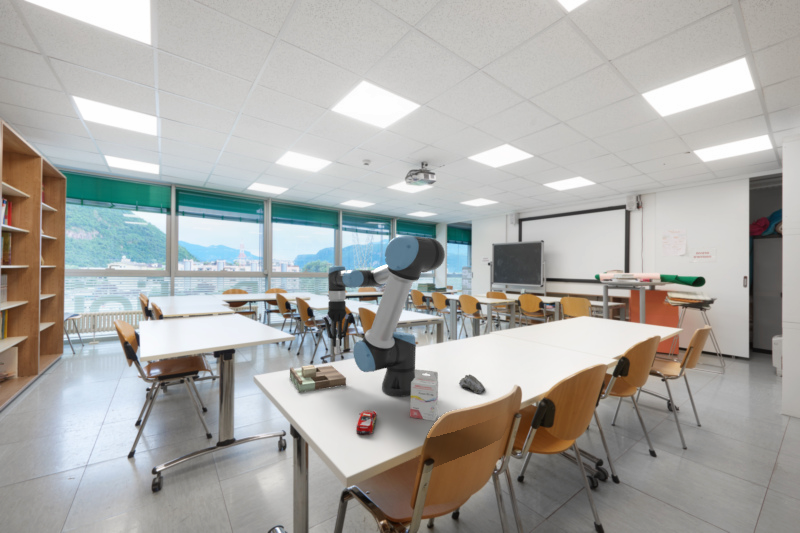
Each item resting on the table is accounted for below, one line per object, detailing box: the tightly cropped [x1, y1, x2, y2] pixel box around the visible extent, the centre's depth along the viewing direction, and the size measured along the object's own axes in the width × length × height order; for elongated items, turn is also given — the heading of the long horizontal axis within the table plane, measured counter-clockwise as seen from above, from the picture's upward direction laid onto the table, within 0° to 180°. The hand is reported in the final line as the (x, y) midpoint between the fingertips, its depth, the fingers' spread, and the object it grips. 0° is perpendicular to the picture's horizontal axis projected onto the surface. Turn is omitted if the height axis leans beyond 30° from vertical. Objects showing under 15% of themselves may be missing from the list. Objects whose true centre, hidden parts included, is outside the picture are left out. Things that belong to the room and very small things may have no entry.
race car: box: [356, 409, 378, 435], centre depth 102 cm, size 13×5×4 cm, turn 176°
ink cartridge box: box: [409, 368, 439, 422], centre depth 109 cm, size 9×5×15 cm, turn 73°
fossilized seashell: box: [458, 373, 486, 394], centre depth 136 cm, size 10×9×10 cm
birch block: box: [301, 364, 316, 378], centre depth 140 cm, size 5×5×4 cm
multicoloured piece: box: [289, 365, 347, 393], centre depth 142 cm, size 20×19×4 cm
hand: (336, 353), depth 145 cm, fingers closed
